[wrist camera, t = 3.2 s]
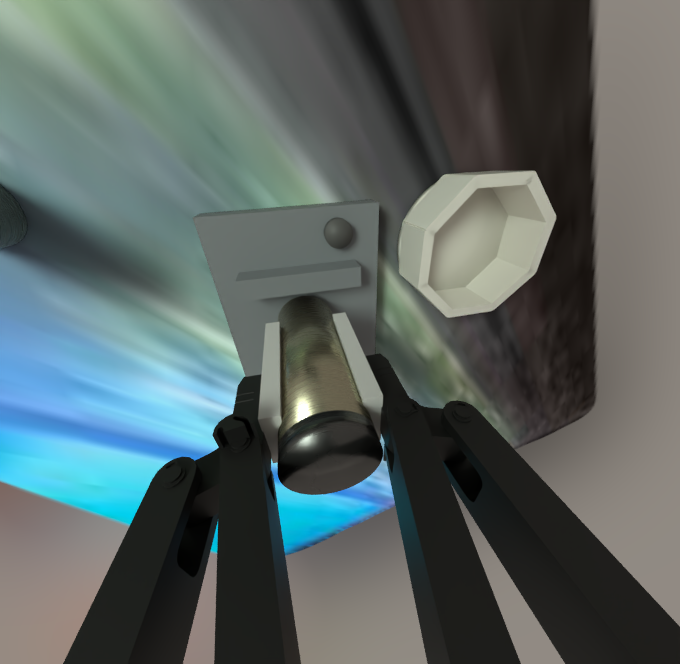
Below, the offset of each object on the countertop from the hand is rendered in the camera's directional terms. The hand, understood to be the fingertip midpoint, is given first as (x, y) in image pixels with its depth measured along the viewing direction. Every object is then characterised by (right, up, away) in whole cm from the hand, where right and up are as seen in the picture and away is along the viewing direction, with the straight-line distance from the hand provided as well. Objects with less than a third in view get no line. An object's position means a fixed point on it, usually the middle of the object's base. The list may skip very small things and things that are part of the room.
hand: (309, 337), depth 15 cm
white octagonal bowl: (+10, +7, +3) cm, 12 cm away
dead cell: (0, +1, +2) cm, 2 cm away
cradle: (-1, +2, +4) cm, 4 cm away
